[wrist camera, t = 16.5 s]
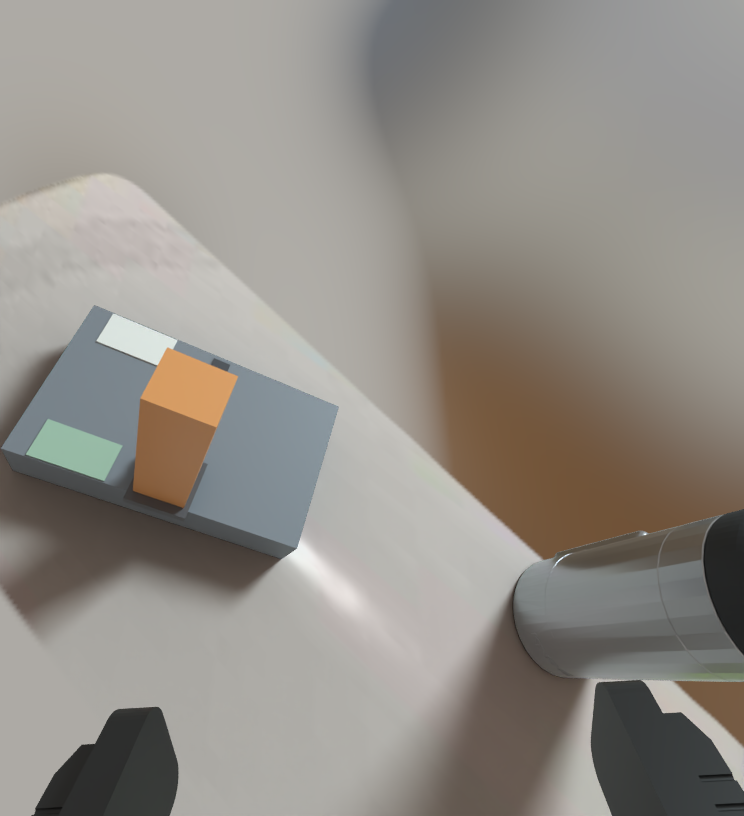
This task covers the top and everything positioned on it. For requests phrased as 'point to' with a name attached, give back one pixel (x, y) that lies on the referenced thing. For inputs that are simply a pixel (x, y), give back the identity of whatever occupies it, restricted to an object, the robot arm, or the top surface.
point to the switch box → (227, 455)
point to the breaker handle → (176, 432)
